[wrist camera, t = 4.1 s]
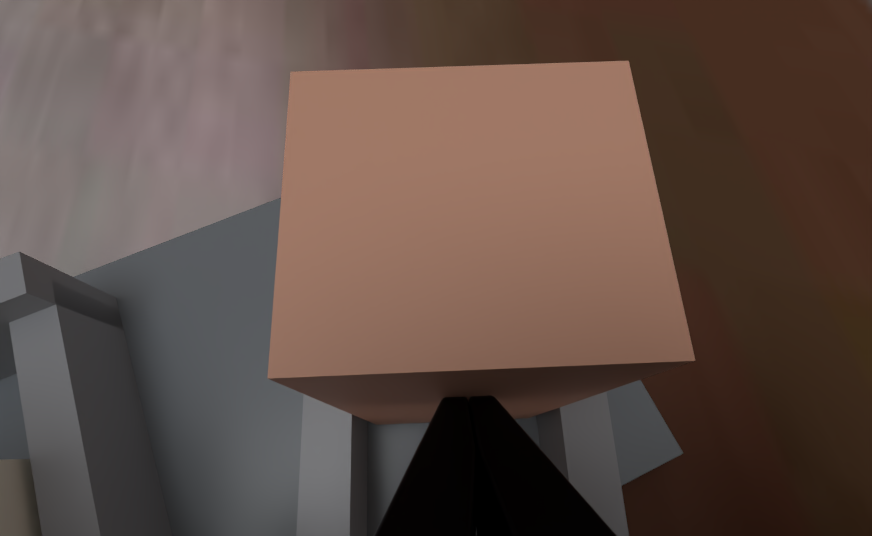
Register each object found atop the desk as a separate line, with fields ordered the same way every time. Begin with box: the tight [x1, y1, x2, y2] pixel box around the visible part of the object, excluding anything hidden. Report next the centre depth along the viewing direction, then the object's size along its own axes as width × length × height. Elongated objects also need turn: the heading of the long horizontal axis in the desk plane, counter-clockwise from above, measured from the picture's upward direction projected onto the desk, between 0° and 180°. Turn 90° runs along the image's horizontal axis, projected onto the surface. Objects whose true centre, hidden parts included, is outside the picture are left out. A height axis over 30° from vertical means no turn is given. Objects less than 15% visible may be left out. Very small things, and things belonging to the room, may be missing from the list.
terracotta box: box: [267, 61, 695, 425], centre depth 11 cm, size 4×4×10 cm
